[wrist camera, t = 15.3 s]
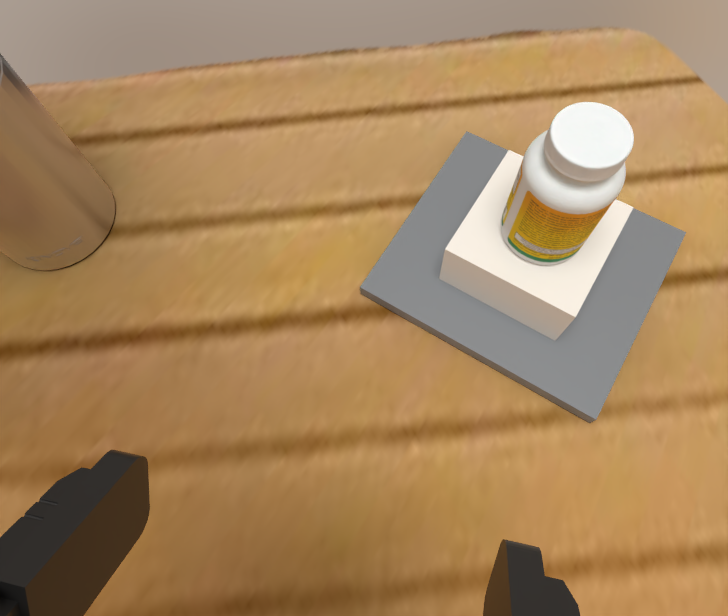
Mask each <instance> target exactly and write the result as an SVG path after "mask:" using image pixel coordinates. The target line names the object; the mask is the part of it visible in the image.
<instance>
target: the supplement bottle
mask: <svg viewBox="0 0 728 616" xmlns="http://www.w3.org/2000/svg"><path fill="white" fill-rule="evenodd" d="M633 143H634V135H633V130H632V128H631V126H630V124H629V122H628V121H627V119H626V118H625V117H624V116H623V115H622V114H621V113H619V112H618V111H616V110H615V109H613V108H611V107H609V106H607V105H604V104H600V103H596V102H582V103H576V104H572V105H570V106H568V107H566V108H564V109H563V110H561V111H560V112H559V113H558V114H557V115H556V116H555V118H554V119H553V121H552V123H551V125H550V128H549V130H547V131H545V132H544V133H542V134H540V135H539V136H538V137H537V138H536V139H535V140H534V141H533V142H532V143H531V144H530V146H529V147H528V149H527V151H526V153H525V155H524V158H523V160H522V163H521V165H520V168H519V171H518V173H517V176H516V179H515V181H514V184H513V187H512V189H511V192H510V195H509V197H508V200H507V203H506V206H505V208H504V211H503V214H502V219H501V231H502V235H503V238H504V240H505V242H506V244H507V245H508V246H509V248H510V249H511V250H512V251H513V252H514V253H516V254H517V255H518V256H520V257H522V258H523V259H525V260H527V261H529V262H532V263H535V264H541V265H553V264H558V263H561V262H564V261H567V260H568V259H570V258H571V257H573V256H574V255H575V254H576V253H577V252H578V251H579V250H580V248H581V247H582V246H583V244H584V243H585V241H586V240H587V239H588V237H589V236H590V234H591V233H592V232H593V230H594V229H595V227H596V226H597V225H598V223H599V222H600V220H601V219H602V217H603V216H604V215H605V213H606V212H607V210H608V209H609V207H610V206H611V204H612V203H613V202H614V200H615V199H616V198H617V196H618V195H619V193H620V191H621V189H622V187H623V184H624V181H625V175H626V167H625V161H626V159H627V157H628V155H629V154H630V152H631V149H632V147H633Z"/></svg>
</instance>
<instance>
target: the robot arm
mask: <svg viewBox="0 0 728 616" xmlns="http://www.w3.org/2000/svg"><path fill="white" fill-rule="evenodd" d="M114 216H115V201H114V198H113V195H112V192H111V191H110V189H109V188H108V186H107V185H106V183H105V182H104V181H103V180H102V178H101V177H100V176H99V175H98V173H97V172H96V171H95V170H94V169H93V167H92V166H91V165H90V164H89V162H88V161H87V160H86V159H85V157H84V156H83V155H82V153H81V152H80V151H79V150H78V148H77V147H76V146H75V145H74V144H73V142H72V141H71V140H70V139H69V137H68V136H67V135H66V134H65V132H64V131H63V130H62V129H61V128H60V126H59V125H58V124H57V123H56V121H55V120H54V119H53V118H52V116H51V115H50V114H49V113H48V112H47V110H46V109H45V108H44V107H43V105H42V104H41V103H40V102H39V100H38V99H37V98H36V97H35V95H34V94H33V93H32V92H31V91H30V89H29V88H28V87H27V86H26V84H25V83H24V82H23V81H22V79H21V78H20V77H19V76H18V75H17V73H16V72H15V71H14V70H13V68H12V67H11V66H10V65H9V63H8V62H7V61H6V60H5V59H4V58H3V56H2V55H1V54H0V251H1V252H2V253H4V254H5V255H6V256H8V257H9V258H10V259H12V260H13V261H15V262H16V263H18V264H20V265H21V266H24V267H27V268H30V269H34V270H54V269H60V268H63V267H67V266H70V265H72V264H74V263H76V262H78V261H80V260H82V259H84V258H85V257H87V256H88V255H89V254H91V253H92V252H93V251H94V250H95V249H96V248H97V247H98V246H99V245H100V244H101V243H102V242H103V240H104V239H105V238H106V236H107V235H108V233H109V231H110V229H111V226H112V224H113V221H114ZM149 509H150V504H149V481H148V462H147V459H146V458H145V457H143V456H139V455H135V454H130V453H126V452H121V451H117V450H111V451H109V452H107V453H106V454H105V455H104V456H103V457H102V458H101V459H100V460H99V461H98V462H97V463H96V465H95V466H94V467H93V468H92V469H86V468H80V469H78V470H77V471H75V472H73V473H71V474H69V475H68V476H66V477H64V478H62V479H60V480H59V481H57V482H56V483H55V484H54V485H53V486H52V487H51V488H50V489H49V490H48V491H47V492H46V493H45V494H44V495H43V496H42V497H41V498H40V501H39V502H36V503H35V504H34V505H33V506H32V507H31V508H30V509H29V510H28V511H27V512H26V513H25V516H24V517H21V518H20V519H19V520H18V521H17V522H16V523H15V524H14V525H13V526H12V527H11V528H9V529H8V530H7V531H6V532H5V533H4V534H3V535H2V536H1V537H0V616H83V615H84V614H85V613H86V611H87V610H88V608H89V607H90V606H91V604H92V603H93V601H94V600H95V599H96V597H97V596H98V594H99V593H100V592H101V590H102V589H103V587H104V586H105V585H106V583H107V582H108V580H109V579H110V578H111V576H112V575H113V573H114V572H115V571H116V569H117V568H118V566H119V565H120V564H121V562H122V561H123V560H124V558H125V557H126V555H127V554H128V553H129V551H130V550H131V548H132V547H133V546H134V544H135V543H136V541H137V540H138V539H139V537H140V536H141V534H142V532H143V530H144V528H145V525H146V523H147V520H148V516H149ZM483 616H580V613H579V608H578V604H577V603H576V601H575V599H574V598H573V596H572V594H571V593H570V591H569V589H568V588H567V586H566V585H565V583H564V581H563V580H559V579H555V578H550V577H546V576H545V575H544V568H543V561H542V555H541V551H540V548H539V547H535V546H531V545H526V544H522V543H517V542H513V541H508V540H504V539H503V540H502V542H501V544H500V547H499V550H498V554H497V557H496V560H495V564H494V567H493V570H492V574H491V577H490V580H489V584H488V587H487V591H486V595H485V602H484V611H483Z"/></svg>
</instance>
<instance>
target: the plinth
mask: <svg viewBox="0 0 728 616" xmlns="http://www.w3.org/2000/svg"><path fill="white" fill-rule="evenodd" d="M523 158H524V157H523V156H521V155H519V154H517V153H514V152H512V151H510V150H509V151H508V152H507V154H506V155H505V157H504V158H503V160H502V161H501V163H500V165H499V166H498V168H497V169H496V171H495V172H494V174H493V175H492V177H491V179H490V180H489V182H488V183H487V185H486V186H485V188H484V189H483V191H482V192H481V194H480V196H479V197H478V199H477V200H476V202H475V203H474V205H473V206H472V208H471V210H470V211H469V213H468V214H467V216H466V217H465V219H464V220H463V222H462V224H461V225H460V227H459V228H458V230H457V231H456V233H455V234H454V236H453V238H452V239H451V241H450V242H449V244H448V245H447V247H446V248H445V252H444V257H443V262H442V267H441V271H440V276H439V279H441V280H442V281H444V282H446V283H448V284H450V285H452V286H454V287H455V288H457V289H459V290H461V291H463V292H465V293H467V294H468V295H470V296H472V297H474V298H476V299H478V300H480V301H481V302H483V303H485V304H487V305H489V306H491V307H493V308H495V309H496V310H498V311H500V312H502V313H504V314H506V315H508V316H509V317H511V318H513V319H515V320H517V321H519V322H521V323H522V324H524V325H526V326H528V327H530V328H532V329H534V330H536V331H537V332H539V333H541V334H543V335H545V336H547V337H549V338H550V339H552V340H554V341H555V340H556V339H557V338H558V337H559V336H560V335H561V333H562V332H563V331H564V330H565V329H566V328H567V327H568V325H569V324H570V323H571V322H572V321H573V320H574V319H575V318H576V316H577V314H578V312H579V310H580V308H581V306H582V304H583V302H584V301H585V299H586V297H587V295H588V293H589V291H590V289H591V287H592V285H593V283H594V282H595V280H596V278H597V276H598V274H599V272H600V270H601V268H602V266H603V265H604V263H605V261H606V259H607V257H608V255H609V253H610V251H611V249H612V247H613V246H614V244H615V242H616V240H617V238H618V236H619V234H620V232H621V230H622V228H623V227H624V225H625V223H626V221H627V219H628V217H629V215H630V213H631V211H632V210H633V208H634V207H632V206H629V205H627V204H625V203H623V202H621V201H619V200H616V199H615V200H614V202H613V203H612V204H611V206H610V207H609V209H608V210H607V212H606V213H605V215H604V216H603V217H602V219H601V220H600V222H599V223H598V225H597V226H596V227H595V229H594V230H593V232H592V233H591V234H590V236H589V237H588V239H587V240H586V241H585V243H584V244H583V246H582V247H581V248H580V250H579V251H578V252H577V253H576V254H575V255H574V256H573V257H571V258H570V259H568V260H567V261H564V262H561V263H558V264H553V265H541V264H535V263H532V262H529V261H527V260H525V259H523V258H522V257H520V256H518V255H517V254H516V253H514V252H513V251H512V250H511V249H510V248H509V246H508V245H507V244H506V242H505V240H504V238H503V235H502V231H501V219H502V214H503V211H504V208H505V206H506V203H507V200H508V197H509V195H510V192H511V189H512V187H513V184H514V181H515V179H516V176H517V173H518V171H519V168H520V165H521V163H522V160H523Z"/></svg>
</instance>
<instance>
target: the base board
mask: <svg viewBox="0 0 728 616" xmlns="http://www.w3.org/2000/svg"><path fill="white" fill-rule="evenodd" d="M507 152H508V150H506V149H504V148H502V147H500V146H498V145H495V144H493V143H491V142H489V141H487V140H485V139H482V138H480V137H478V136H476V135H474V134H472V133H469V132H466V133H465V135H464V136H463V137H462V139H461V140H460V142H459V143H458V145H457V146H456V148H455V149H454V151H453V152H452V154H451V155H450V156H449V158H448V159H447V161H446V162H445V164H444V165H443V167H442V168H441V170H440V171H439V172H438V174H437V175H436V177H435V178H434V180H433V181H432V183H431V184H430V186H429V187H428V189H427V190H426V191H425V193H424V194H423V196H422V197H421V199H420V200H419V202H418V203H417V205H416V206H415V208H414V209H413V210H412V212H411V213H410V215H409V216H408V218H407V219H406V221H405V222H404V224H403V225H402V227H401V228H400V229H399V231H398V232H397V234H396V235H395V237H394V238H393V240H392V241H391V243H390V244H389V246H388V247H387V248H386V250H385V251H384V253H383V254H382V256H381V257H380V259H379V260H378V262H377V263H376V265H375V266H374V267H373V269H372V270H371V272H370V273H369V275H368V276H367V278H366V279H365V281H364V282H363V283H362V285H361V286H360V291H361V294H362V295H364V296H366V297H367V298H369V299H371V300H373V301H374V302H376V303H378V304H380V305H382V306H383V307H385V308H387V309H389V310H390V311H392V312H394V313H396V314H398V315H399V316H401V317H403V318H405V319H406V320H408V321H410V322H412V323H413V324H415V325H417V326H419V327H421V328H422V329H424V330H426V331H428V332H429V333H431V334H433V335H435V336H436V337H438V338H440V339H442V340H444V341H445V342H447V343H449V344H451V345H452V346H454V347H456V348H458V349H459V350H461V351H463V352H465V353H467V354H468V355H470V356H472V357H474V358H475V359H477V360H479V361H481V362H483V363H484V364H486V365H488V366H490V367H491V368H493V369H495V370H497V371H498V372H500V373H502V374H504V375H506V376H507V377H509V378H511V379H513V380H514V381H516V382H518V383H520V384H521V385H523V386H525V387H527V388H529V389H530V390H532V391H534V392H536V393H537V394H539V395H541V396H543V397H544V398H546V399H548V400H550V401H552V402H553V403H555V404H557V405H559V406H560V407H562V408H564V409H566V410H568V411H569V412H571V413H573V414H575V415H576V416H578V417H580V418H582V419H583V420H585V421H587V422H589V423H591V422H593V421H595V420H596V419H597V417H598V415H599V413H600V411H601V409H602V407H603V404H604V402H605V400H606V398H607V396H608V394H609V392H610V390H611V388H612V386H613V384H614V382H615V379H616V377H617V375H618V373H619V371H620V369H621V367H622V365H623V363H624V361H625V359H626V357H627V355H628V352H629V350H630V348H631V346H632V344H633V342H634V340H635V338H636V336H637V334H638V332H639V330H640V327H641V325H642V323H643V321H644V319H645V317H646V315H647V313H648V311H649V309H650V307H651V305H652V303H653V300H654V298H655V296H656V294H657V292H658V290H659V288H660V286H661V284H662V282H663V280H664V278H665V275H666V273H667V271H668V269H669V267H670V265H671V263H672V261H673V259H674V257H675V255H676V253H677V250H678V248H679V246H680V244H681V242H682V240H683V238H684V236H685V234H686V232H684V231H682V230H680V229H677V228H675V227H673V226H671V225H669V224H667V223H664V222H662V221H660V220H658V219H656V218H654V217H651V216H649V215H647V214H645V213H643V212H641V211H638V210H636V209H634V208H633V210H632V211H631V213H630V215H629V217H628V219H627V221H626V223H625V225H624V227H623V228H622V230H621V232H620V234H619V236H618V238H617V240H616V242H615V244H614V246H613V247H612V249H611V251H610V253H609V255H608V257H607V259H606V261H605V263H604V265H603V266H602V268H601V270H600V272H599V274H598V276H597V278H596V280H595V282H594V283H593V285H592V287H591V289H590V291H589V293H588V295H587V297H586V299H585V301H584V302H583V304H582V306H581V308H580V310H579V312H578V314H577V316H576V318H575V319H574V320H573V321H572V322H571V323H570V324H569V325H568V327H567V328H566V329H565V330H564V331H563V332H562V333H561V335H560V336H559V337H558V338H557V339H556V340H555V341H554V340H552V339H550V338H549V337H547V336H545V335H543V334H541V333H539V332H537V331H536V330H534V329H532V328H530V327H528V326H526V325H524V324H522V323H521V322H519V321H517V320H515V319H513V318H511V317H509V316H508V315H506V314H504V313H502V312H500V311H498V310H496V309H495V308H493V307H491V306H489V305H487V304H485V303H483V302H481V301H480V300H478V299H476V298H474V297H472V296H470V295H468V294H467V293H465V292H463V291H461V290H459V289H457V288H455V287H454V286H452V285H450V284H448V283H446V282H444V281H442V280H441V279H439V276H440V271H441V267H442V262H443V257H444V252H445V248H446V247H447V245H448V244H449V242H450V241H451V239H452V238H453V236H454V234H455V233H456V231H457V230H458V228H459V227H460V225H461V224H462V222H463V220H464V219H465V217H466V216H467V214H468V213H469V211H470V210H471V208H472V206H473V205H474V203H475V202H476V200H477V199H478V197H479V196H480V194H481V192H482V191H483V189H484V188H485V186H486V185H487V183H488V182H489V180H490V179H491V177H492V175H493V174H494V172H495V171H496V169H497V168H498V166H499V165H500V163H501V161H502V160H503V158H504V157H505V155H506V154H507Z"/></svg>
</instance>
